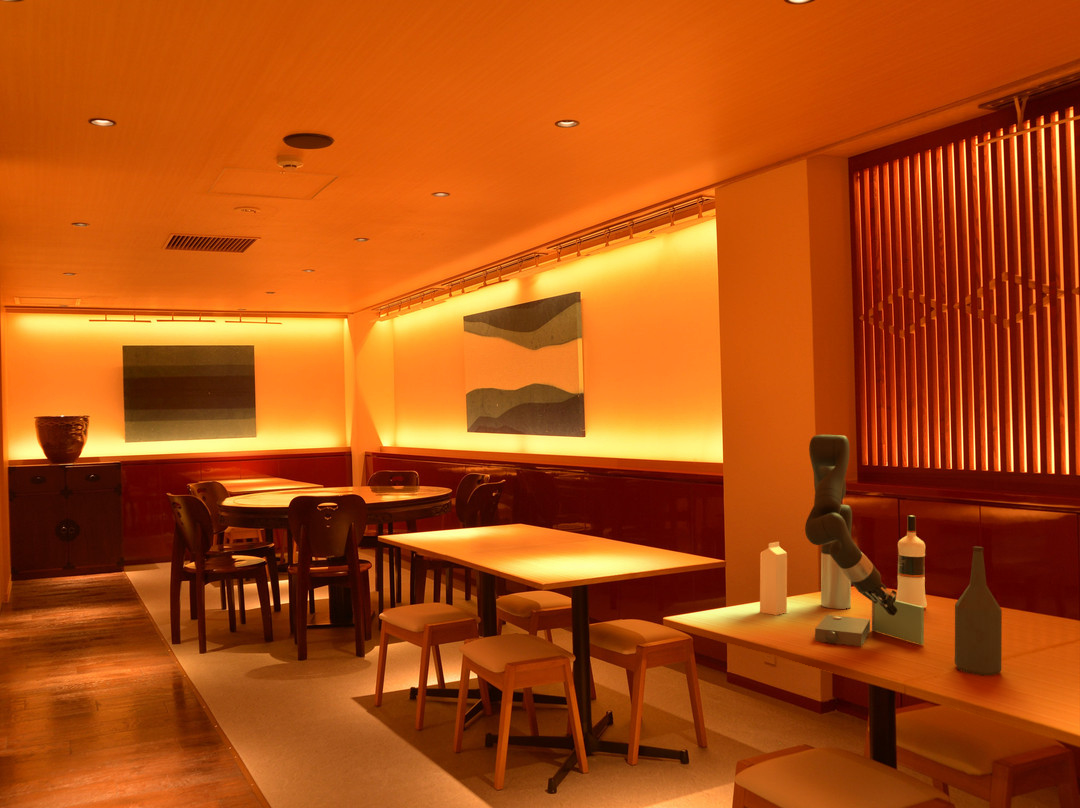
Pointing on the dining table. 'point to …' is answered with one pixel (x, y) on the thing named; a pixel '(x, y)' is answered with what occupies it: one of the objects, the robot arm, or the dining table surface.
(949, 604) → the dining table surface
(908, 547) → the vodka
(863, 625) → the box with round knob
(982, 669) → the bottle
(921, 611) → the door
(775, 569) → the milk
